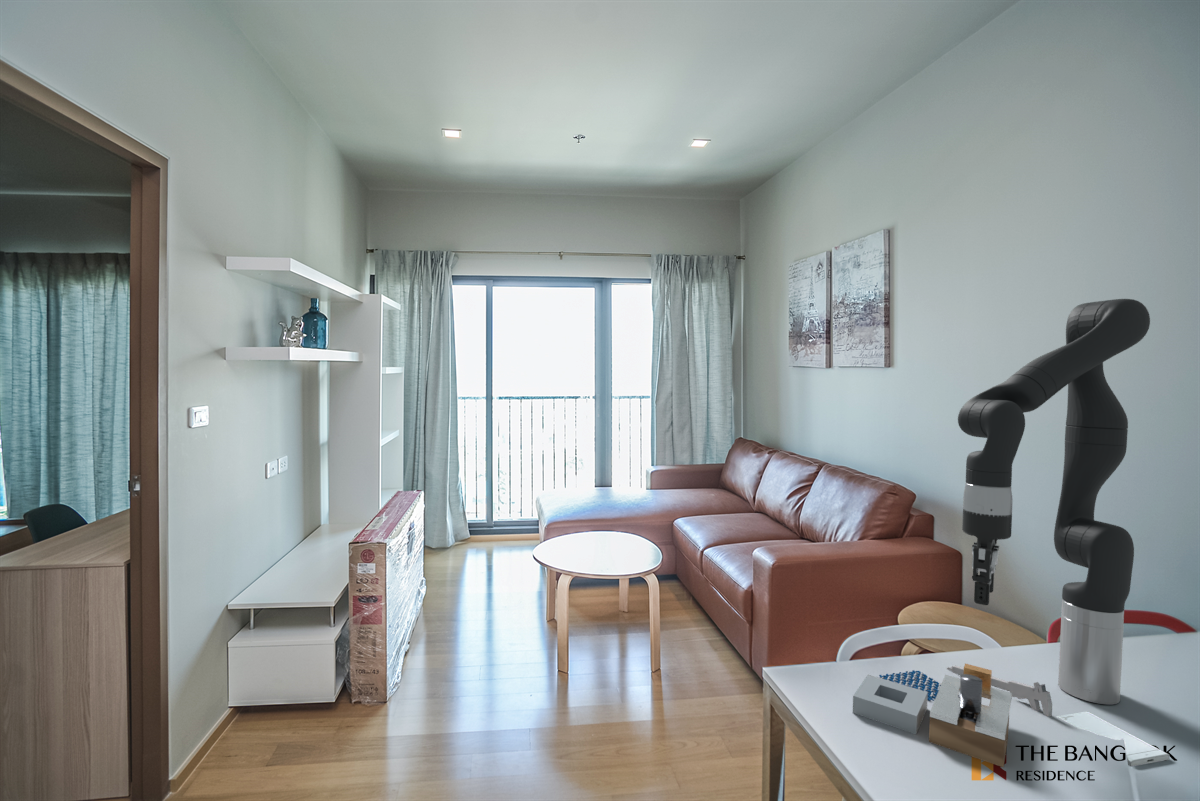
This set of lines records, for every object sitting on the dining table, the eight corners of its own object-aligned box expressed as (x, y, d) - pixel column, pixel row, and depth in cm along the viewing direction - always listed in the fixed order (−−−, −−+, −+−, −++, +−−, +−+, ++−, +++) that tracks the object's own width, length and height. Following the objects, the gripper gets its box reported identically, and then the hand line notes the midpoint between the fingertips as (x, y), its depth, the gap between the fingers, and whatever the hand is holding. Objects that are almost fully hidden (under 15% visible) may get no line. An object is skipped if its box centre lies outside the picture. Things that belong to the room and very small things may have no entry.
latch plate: (945, 678, 109) (946, 658, 109) (1011, 697, 103) (1012, 675, 103) (929, 716, 96) (930, 693, 96) (1004, 740, 90) (1005, 715, 90)
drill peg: (959, 731, 99) (961, 672, 99) (980, 738, 98) (983, 678, 97) (956, 739, 97) (959, 679, 97) (978, 747, 95) (981, 685, 95)
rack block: (867, 695, 112) (867, 674, 112) (926, 714, 106) (927, 692, 106) (852, 718, 104) (853, 695, 104) (916, 740, 98) (916, 716, 98)
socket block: (938, 720, 104) (939, 692, 104) (1007, 742, 98) (1009, 712, 98) (928, 747, 96) (929, 717, 96) (1003, 773, 90) (1004, 741, 90)
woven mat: (917, 677, 121) (917, 667, 121) (962, 704, 111) (962, 694, 111) (874, 683, 118) (874, 673, 118) (916, 712, 108) (916, 701, 108)
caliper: (1051, 723, 105) (1053, 687, 105) (1047, 724, 105) (1049, 688, 104) (950, 669, 124) (951, 639, 124) (946, 670, 124) (947, 640, 124)
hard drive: (1052, 716, 105) (1131, 759, 93) (1088, 710, 107) (1170, 752, 95) (1052, 725, 105) (1130, 770, 93) (1088, 719, 107) (1169, 762, 95)
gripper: (1009, 519, 101) (1005, 614, 101) (1014, 506, 112) (1011, 591, 113) (957, 512, 105) (954, 603, 106) (967, 500, 117) (965, 583, 117)
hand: (983, 597), depth 109 cm, fingers open, 8 cm apart
